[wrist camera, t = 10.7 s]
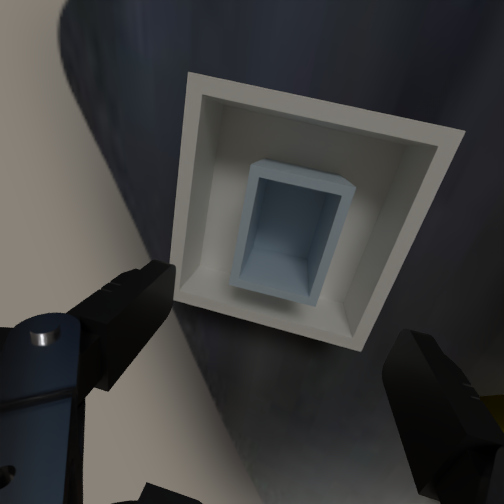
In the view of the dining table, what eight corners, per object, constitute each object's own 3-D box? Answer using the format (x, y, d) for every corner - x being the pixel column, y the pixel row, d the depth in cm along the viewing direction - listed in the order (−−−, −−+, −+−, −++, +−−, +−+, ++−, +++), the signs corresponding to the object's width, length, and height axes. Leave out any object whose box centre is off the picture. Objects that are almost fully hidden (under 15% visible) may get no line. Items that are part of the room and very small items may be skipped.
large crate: (421, 134, 21) (465, 131, 15) (348, 309, 27) (360, 351, 21) (216, 89, 22) (188, 71, 16) (192, 267, 28) (166, 297, 22)
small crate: (339, 174, 22) (356, 187, 15) (311, 264, 25) (315, 306, 18) (265, 158, 22) (250, 164, 16) (246, 248, 25) (228, 284, 19)
